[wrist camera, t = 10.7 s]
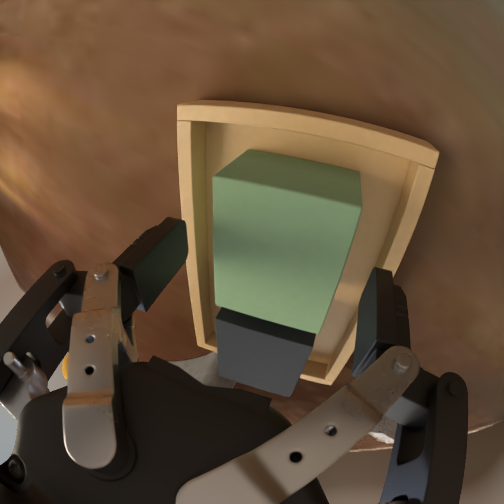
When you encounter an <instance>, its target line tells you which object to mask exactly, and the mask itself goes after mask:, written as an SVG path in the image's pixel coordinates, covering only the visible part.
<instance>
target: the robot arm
mask: <svg viewBox="0 0 504 504" xmlns="http://www.w3.org/2000/svg"><path fill="white" fill-rule="evenodd" d="M188 251H189V248H188V237H187V226H186V222H185V221H184V220H181V219H176V218H172V217H167V218H166V219H165V220H164V221H163V222H162V223H161V224H159V225H158V226H157V225H156V226H154V227H152V228H150V229H148V230H146V231H145V232H144V233H143V234H142V235H141V236H140V237H139V239H137V240H135V241H134V242H133V244H131V245H130V246H129V247H128V248H127V249H126V250H125V251H124V252H123V253H122V254H121V255H120V256H119V257H118V258H117V259H116V260H115V261H114V262H113V263H101V264H98V265H96V266H94V267H92V268H91V269H90V270H89V271H88V272H87V271H76V269H75V267H74V265H73V263H72V262H71V261H69V260H62V261H59V262H56V263H55V264H53V265H52V266H51V267H50V268H49V269H48V270H47V271H46V272H45V273H44V274H43V275H42V276H41V277H40V278H39V279H38V280H37V282H36V283H35V284H34V285H33V286H32V287H31V288H30V289H29V290H28V291H27V292H26V294H25V295H24V296H23V297H22V298H21V299H20V301H19V302H18V303H17V304H16V305H15V306H14V308H13V309H12V310H11V311H10V312H9V314H8V315H7V316H6V317H5V319H4V320H3V321H2V322H1V324H0V404H1V405H3V407H4V408H5V409H6V410H7V411H8V412H9V413H10V414H11V415H12V416H13V417H14V418H15V419H16V420H17V421H18V426H17V435H16V441H15V445H14V449H13V452H12V454H11V456H10V458H9V459H8V460H7V461H6V462H4V463H3V464H2V465H0V504H329V502H328V500H327V498H326V496H325V494H324V492H323V490H322V487H321V485H320V483H319V481H318V479H317V476H319V475H320V474H321V473H323V472H324V471H325V470H326V469H328V468H329V467H330V466H331V465H333V464H334V463H335V462H336V461H337V460H339V459H340V458H341V457H342V456H344V455H345V454H346V453H347V452H348V451H349V450H350V449H352V448H353V447H354V446H355V445H356V444H357V443H358V442H359V441H360V440H361V439H362V438H363V437H365V436H366V435H367V434H368V433H369V432H370V431H371V430H372V429H373V428H374V427H375V426H376V425H377V424H378V423H379V421H380V420H381V419H382V416H385V417H387V418H389V419H391V420H393V421H395V422H397V427H396V433H395V439H394V444H393V449H392V454H391V459H390V464H389V468H388V473H387V477H386V481H385V484H384V488H383V492H382V496H381V499H380V502H379V504H459V500H460V494H461V489H462V483H463V476H464V469H465V459H466V449H467V433H468V392H467V386H466V384H465V382H464V380H463V379H462V378H461V377H460V376H459V375H458V374H456V373H453V372H447V373H444V374H443V375H442V376H441V377H440V378H438V377H437V376H435V375H433V374H431V373H429V372H427V371H425V370H423V369H422V368H421V367H420V364H419V360H418V358H417V356H416V355H415V354H414V353H413V351H411V347H410V331H409V319H408V309H407V300H406V296H405V294H404V292H403V290H402V288H401V287H400V286H396V285H394V283H393V274H392V271H390V270H386V269H382V268H378V267H374V268H373V269H372V271H371V274H370V276H369V279H368V281H367V283H366V286H365V288H364V290H363V292H362V295H361V298H360V301H359V306H358V317H357V329H356V340H355V350H354V359H353V367H352V374H351V376H352V377H357V378H356V379H355V380H354V381H353V382H352V383H350V384H349V385H348V384H347V385H345V386H344V387H342V388H341V389H340V390H339V391H337V392H336V393H335V394H334V395H332V396H331V397H330V398H329V399H327V400H326V401H325V402H323V403H322V404H321V405H320V406H318V407H317V408H316V409H314V410H313V411H312V412H310V413H309V414H307V415H306V416H305V417H303V418H302V419H300V420H299V421H298V422H296V423H295V424H293V425H292V424H291V423H290V422H289V421H288V420H287V419H286V418H285V417H284V416H283V415H282V414H281V413H279V412H278V411H277V410H275V409H274V408H272V407H270V406H269V405H270V402H271V398H267V397H264V396H260V395H257V394H254V393H251V392H247V391H244V390H241V389H233V388H223V387H214V386H207V385H204V384H202V383H201V382H200V381H198V380H197V379H195V378H194V377H192V376H191V375H190V374H188V373H187V372H186V371H184V370H183V369H182V368H180V367H179V366H176V365H174V364H172V363H169V362H167V361H165V360H162V359H160V358H158V357H156V356H152V358H151V360H150V361H149V362H140V360H139V357H138V353H137V345H136V333H135V318H134V314H133V312H134V311H135V310H136V309H139V310H141V311H144V312H147V310H148V309H149V308H150V306H151V305H152V304H153V302H154V301H155V300H156V298H157V297H158V296H159V295H160V293H161V292H162V291H163V289H164V288H165V287H166V285H167V284H168V283H169V282H170V280H171V279H172V278H173V277H174V275H175V274H176V273H177V271H178V270H179V269H180V268H181V266H182V265H183V264H184V263H185V261H186V259H187V256H188ZM58 302H60V304H61V305H62V307H63V310H62V311H61V312H60V313H59V315H58V316H57V317H56V318H55V320H54V321H53V322H52V324H51V325H50V326H49V327H48V329H47V327H46V324H45V320H46V317H47V315H48V314H49V313H50V312H51V310H52V309H53V308H54V307H55V306H56V304H57V303H58ZM68 351H69V361H68V386H65V387H63V388H60V389H57V390H54V391H52V392H50V391H49V389H48V388H47V385H48V381H49V379H50V377H51V376H52V374H53V373H54V371H55V370H56V368H57V367H58V365H59V364H60V362H61V361H62V359H63V358H64V356H65V355H66V353H67V352H68Z"/></svg>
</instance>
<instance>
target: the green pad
mask: <svg viewBox="0 0 504 504" xmlns="http://www.w3.org/2000/svg"><path fill="white" fill-rule="evenodd" d="M362 209H363V208H362V192H361V178H360V172H359V171H355V170H351V169H347V168H343V167H339V166H334V165H330V164H326V163H321V162H317V161H312V160H307V159H302V158H297V157H292V156H286V155H281V154H275V153H269V152H263V151H257V150H251V149H248V150H246V151H245V152H244V153H242V154H241V155H240V156H238V157H237V158H236V159H234V160H233V161H232V162H230V163H229V164H228V165H226V166H225V167H224V168H222V169H221V170H220V171H219V172H217V173H216V174H215V175H213V249H214V281H215V304H216V305H218V306H221V307H224V308H228V309H231V310H234V311H237V312H241V313H244V314H247V315H251V316H254V317H257V318H261V319H264V320H268V321H271V322H275V323H278V324H282V325H285V326H289V327H293V328H296V329H300V330H304V331H308V332H312V333H316V334H319V333H320V331H321V329H322V326H323V324H324V321H325V319H326V316H327V314H328V311H329V308H330V306H331V303H332V301H333V298H334V295H335V292H336V290H337V287H338V284H339V281H340V279H341V276H342V273H343V270H344V267H345V264H346V261H347V258H348V255H349V252H350V249H351V246H352V243H353V239H354V236H355V233H356V230H357V226H358V223H359V220H360V216H361V213H362Z"/></svg>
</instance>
